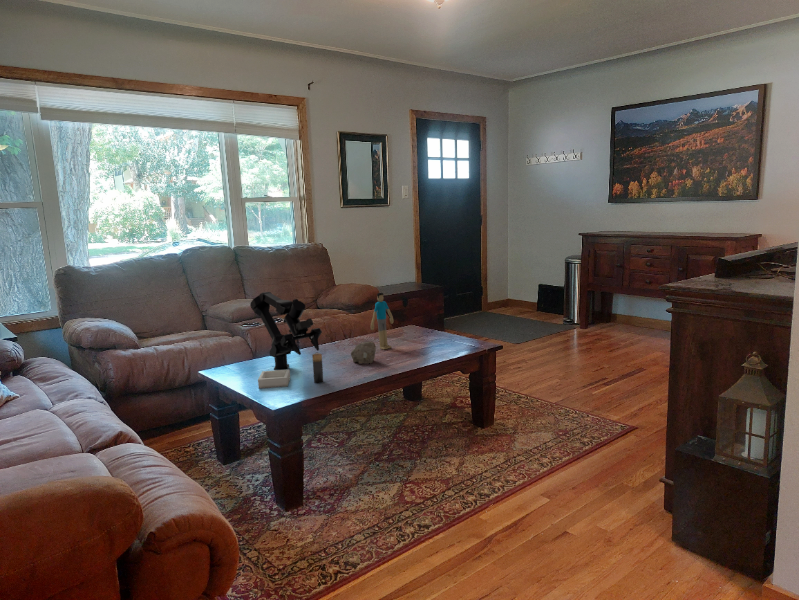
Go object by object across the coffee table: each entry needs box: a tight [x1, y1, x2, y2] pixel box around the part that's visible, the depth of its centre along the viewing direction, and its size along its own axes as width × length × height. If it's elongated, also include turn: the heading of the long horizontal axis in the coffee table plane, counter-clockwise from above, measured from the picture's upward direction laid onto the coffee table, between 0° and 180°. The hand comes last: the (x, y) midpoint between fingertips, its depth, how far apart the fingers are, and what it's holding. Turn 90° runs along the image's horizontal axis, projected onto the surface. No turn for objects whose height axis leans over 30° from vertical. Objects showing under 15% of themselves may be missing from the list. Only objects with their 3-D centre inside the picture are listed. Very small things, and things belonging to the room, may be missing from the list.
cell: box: [311, 352, 324, 384], centre depth 234 cm, size 4×4×13 cm
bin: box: [257, 369, 291, 389], centre depth 235 cm, size 12×12×4 cm
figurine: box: [370, 292, 394, 350], centre depth 284 cm, size 16×6×30 cm, turn 135°
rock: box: [350, 341, 377, 365], centre depth 261 cm, size 14×10×8 cm
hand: (309, 352), depth 237 cm, fingers open, 9 cm apart
